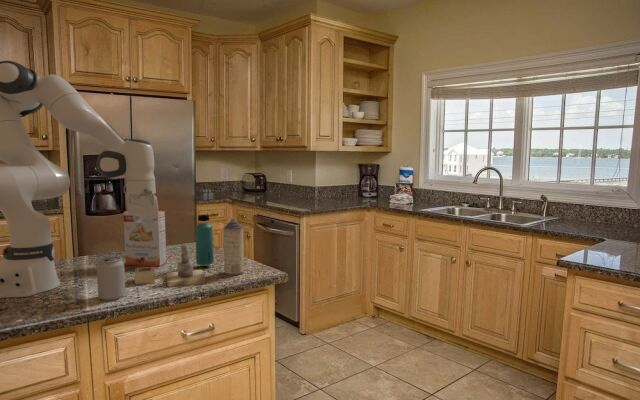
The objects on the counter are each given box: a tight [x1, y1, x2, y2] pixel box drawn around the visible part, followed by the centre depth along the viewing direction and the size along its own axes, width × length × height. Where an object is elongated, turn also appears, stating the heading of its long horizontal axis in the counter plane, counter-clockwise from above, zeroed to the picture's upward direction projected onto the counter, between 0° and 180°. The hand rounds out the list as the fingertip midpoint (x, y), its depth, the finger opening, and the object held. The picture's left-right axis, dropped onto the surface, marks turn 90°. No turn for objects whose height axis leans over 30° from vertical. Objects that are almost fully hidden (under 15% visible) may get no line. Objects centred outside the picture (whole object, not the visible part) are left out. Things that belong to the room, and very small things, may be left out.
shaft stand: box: [166, 244, 207, 288], centre depth 149 cm, size 12×12×12 cm
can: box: [96, 256, 126, 302], centre depth 131 cm, size 8×8×12 cm
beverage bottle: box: [195, 214, 215, 266], centre depth 166 cm, size 6×7×20 cm
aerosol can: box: [223, 217, 245, 277], centre depth 158 cm, size 7×7×20 cm
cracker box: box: [123, 210, 167, 267], centre depth 168 cm, size 14×6×21 cm, turn 83°
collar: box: [134, 266, 156, 285], centre depth 148 cm, size 6×6×4 cm
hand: (143, 229), depth 146 cm, fingers open, 8 cm apart
